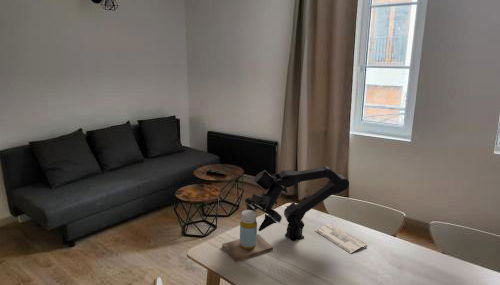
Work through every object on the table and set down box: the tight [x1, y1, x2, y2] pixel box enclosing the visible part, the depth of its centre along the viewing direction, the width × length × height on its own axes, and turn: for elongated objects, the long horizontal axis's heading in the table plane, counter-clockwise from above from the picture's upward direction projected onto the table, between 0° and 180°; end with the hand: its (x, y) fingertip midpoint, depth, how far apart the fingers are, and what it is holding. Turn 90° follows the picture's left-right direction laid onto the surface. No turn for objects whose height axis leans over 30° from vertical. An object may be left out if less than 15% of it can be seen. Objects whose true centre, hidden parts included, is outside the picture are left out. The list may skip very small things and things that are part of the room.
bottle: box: [239, 209, 258, 249], centre depth 145 cm, size 7×7×15 cm
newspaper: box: [314, 223, 368, 255], centre depth 158 cm, size 23×12×2 cm, turn 33°
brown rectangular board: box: [221, 233, 274, 263], centre depth 147 cm, size 18×12×2 cm, turn 119°
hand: (251, 226), depth 145 cm, fingers open, 9 cm apart
